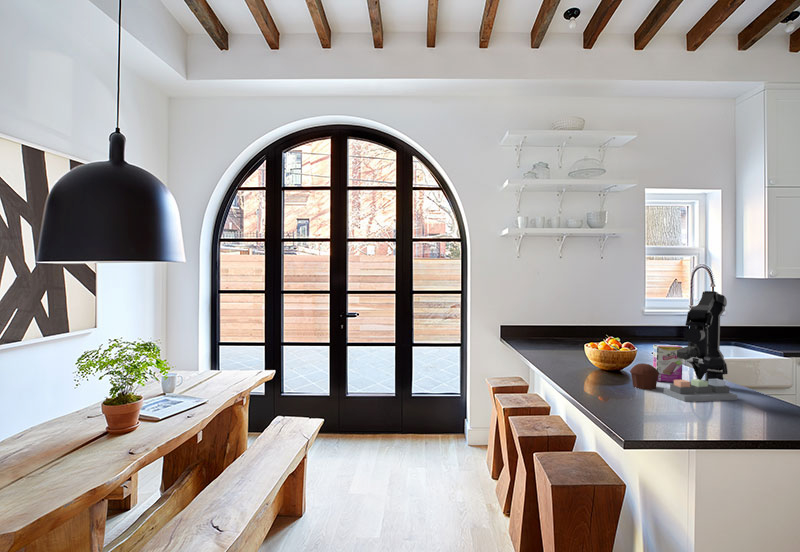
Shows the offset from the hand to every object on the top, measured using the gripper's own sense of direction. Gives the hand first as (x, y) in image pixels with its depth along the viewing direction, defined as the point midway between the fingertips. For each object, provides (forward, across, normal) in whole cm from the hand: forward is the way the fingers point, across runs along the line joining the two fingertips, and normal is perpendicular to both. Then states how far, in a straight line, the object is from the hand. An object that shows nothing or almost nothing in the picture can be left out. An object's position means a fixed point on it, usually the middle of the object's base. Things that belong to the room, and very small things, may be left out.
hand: (699, 379), depth 185 cm
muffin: (+7, -17, -12) cm, 22 cm away
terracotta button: (+3, 0, -7) cm, 8 cm away
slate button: (+3, 0, +8) cm, 8 cm away
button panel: (+7, 0, 0) cm, 7 cm away
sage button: (+3, 0, 0) cm, 3 cm away
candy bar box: (+7, -27, +6) cm, 29 cm away
